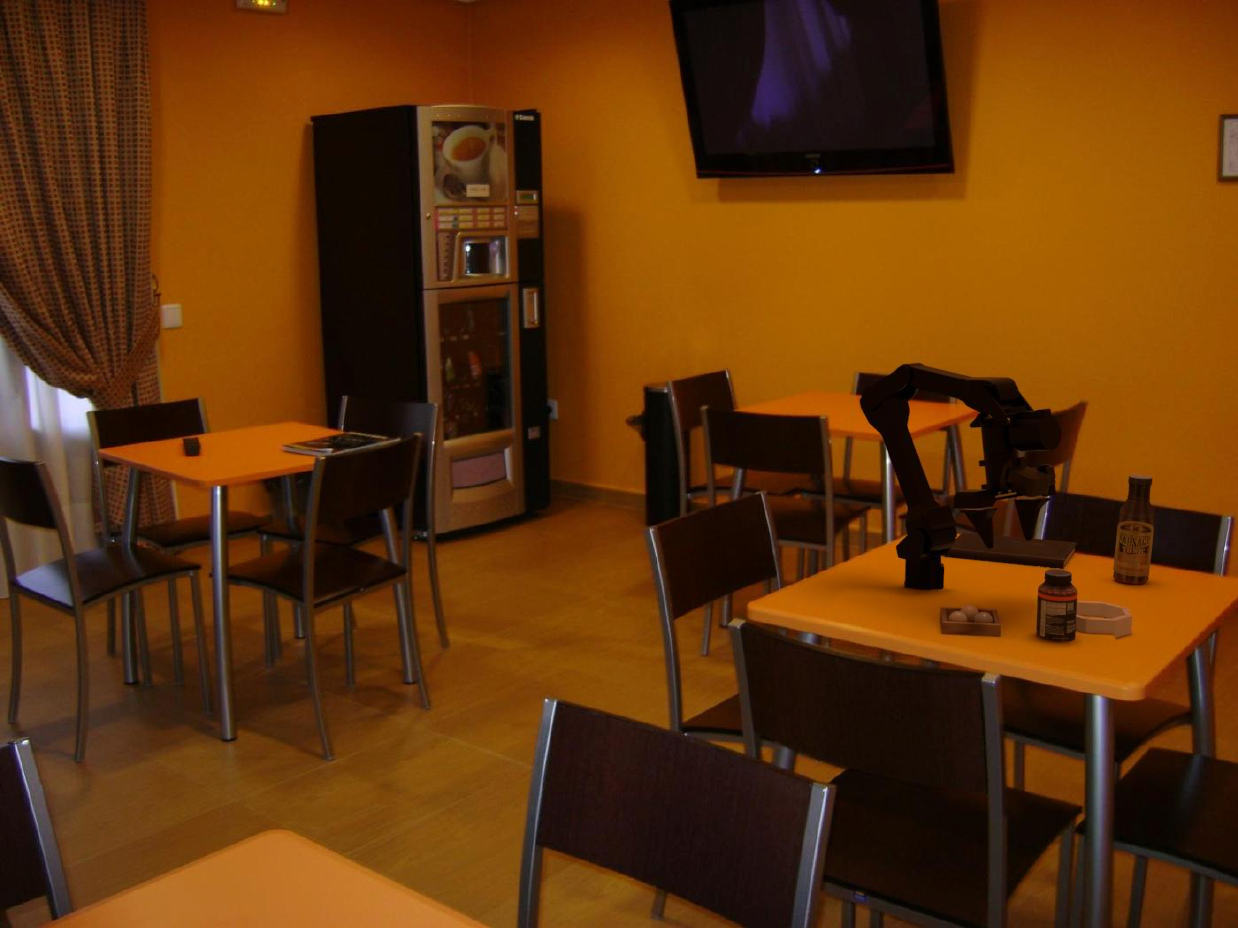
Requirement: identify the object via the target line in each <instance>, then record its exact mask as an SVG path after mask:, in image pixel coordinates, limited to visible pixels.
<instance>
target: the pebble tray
mask: <svg viewBox="0 0 1238 928" xmlns="http://www.w3.org/2000/svg"><path fill="white" fill-rule="evenodd" d="M976 608H977V607H976ZM961 609H962V607H957V606H956V607H955V606H954V607H953V606H940V617H939V618H940V626H941V633H942V635H944V634H945V635H961V636H964V635H966V636H983V637H1002V635H1001V633H1002V624H1001V621H1000V616H999V613H998V609H997V608H996V609H995V608H979V607H978V608H977V610H978V612H979V613H980V612H986V613H988V614H990V615H991V616H992V618H993V623H974V622H952V621H948V619H949V616H950V614H951V613H953V612H955V611H960V610H961Z"/></svg>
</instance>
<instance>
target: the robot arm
mask: <svg viewBox="0 0 1238 928" xmlns="http://www.w3.org/2000/svg"><path fill="white" fill-rule="evenodd" d="M919 390H922V391H927V392H930V393H934V394H937V395H942V396H945V397H949V398H953V399H957V400H959V401H961V402H962V403H963V404H964V405H965V406H966V407H968V408H969V409H971V410H973V411H976V412H977V415H976V417H975V418H974V419H973V420H971V422H970V423H969V427H970V428H971V429H974V428H980V433H981V443H982V444H981V445H982V451H983V452H982V453H983V459H979V460H978V467H984V474H985V483H984V484H980V485H981V486H980V487H981V489H980V488H978V489H977V488H976V489H974V488H971V489H965V490H960V491H956V492H955V494H954V496H953V497H952V498H953V507H954V509H959V512H960V513H961V514H963V513H964V515H965V517H966V518H967V519H968V520H969V522H970V523H971V524H972V526H973V528H974V529H975V531H976V532H977V534H979V535H980V537H981V539H982V540H983V542H984V544H985V545H986V547H987V548H988V549H992V548H993V545H994V536H993V535H994V523H993V522H994V521H993V520H994V519H993V518H994V516H995V514H996V512H997V511H998V507H994V505H995V503H996V502H998V501H1001V500H1008V499H1012V498H1013V501H1014V505H1015V509H1016V512H1017V516H1018V519H1019V524H1020V527H1021V531H1022V534H1023V536H1024V537H1023V538H1025V539H1026V541H1031V540H1032V539H1034V538H1033V537H1034V533H1035V530H1036V526H1037V521H1038V518H1039V514H1040V512H1041V509H1042V508H1043V506H1045V505H1046V503H1047V502H1050V501H1051V500H1052V497H1051V496H1056V495H1057V493H1056V492H1057V491H1056V482H1057V481H1056V478H1057V477H1056V470H1055V467H1054V465H1051V464H1049V463H1045V464H1040V465H1039V466H1038V467H1030V466H1028V465H1027V459H1026V457H1025V456H1020V452H1045V451H1047V452H1048V451H1054V450H1056V449H1057V448H1058V447H1059V446H1060V443H1061V440H1062V427H1061V426H1060V424H1059V422H1058V420H1057V419H1056V417H1054V416H1053V415H1052V409H1051V408H1042V409H1037V410H1034V408H1033V407H1032V406H1031V405H1030V404H1029V402H1028V401H1027V399H1026V398H1025V397H1024V395H1022V393H1021V391H1020V390H1019V387H1018V385H1017V383H1016V381H1015V380H1014V379H1012V378H1010V377H1006V376H1005V377H1004V376H1003V377H1002V376H1000V377H999V376H983V377H982V376H981V377H980V376H979V377H976V376H969V375H966V374H961V373H959V372H958V373H957V372H954V371H948V370H945V369H942V368H941V369H940V368H937V367H933V366H929V365H925V364H923V363H921V362H913V363H912V362H911V363H903V364H901V365H899V366H898V367H896V368H895V369H894V371H892V372H891V373H889V374H887V375H886V376H883V378H881V379H879V380H878V381H876V382H875V383H874V384H872V385H870V386H867V387H865V388H864V389H863V391H862V393H861V397H860V398H859V406H860V409H861V411H862V413H863V415H864V417H865V419H866V421H867V422H868V424H869V425H870V426H871V427H872V428H873V429H874V430H876V431H877V432H878V433H879V434H880V436H881V438H882V440H883V443H884V445H885V448H886V451H887V454H888V457H889V459H890V462H891V465H892V468H893V470H894V474H895V476H896V479H897V482H898V484H899V488H900V491H901V493H902V496H903V498H904V502H905V504H906V508H907V511H906V518H905V521H904V522H905V524H904V525H905V530H906V534H907V535H906V536H904V537H903V538H902V540H900V541H899V543H898V544H897V545H896V546H895V551H896V555H897V558H899V559H901V560H904V562H905V563H904V566H905V567H904V581H903V587H904V589H912V590H919V591H930V590H931V591H932V590H943V589H944V587H945V582H944V581H945V564H944V563H943V562H942V557H944V556H947V555H949V552H950V549H951V546H952V545H953V544H954V542H955V539H956V538H957V537H958V530H957V526H958V523H957V521H956V520H955V518H954V515H953V512H952V508H951V507H950V506H949V504H945V505H941V504H940V503H939V502H938V501H937V500H936V499H935V498H934V497H935V496H933V492H932V489H931V486H930V484H929V481H928V479H927V475H926V473H925V470H924V468H923V465H922V461H921V459H920V457H919V454H918V452H917V447H916V446H915V442H914V441H913V438H912V435H911V432H910V429H909V421H910V420H909V419H910V414H911V409H910V405H909V401H910V400H912V399H913V398H914V397H915V396H916V395H917V394H918V391H919ZM1018 497H1019V498H1018ZM1014 498H1015V499H1014Z"/></svg>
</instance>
